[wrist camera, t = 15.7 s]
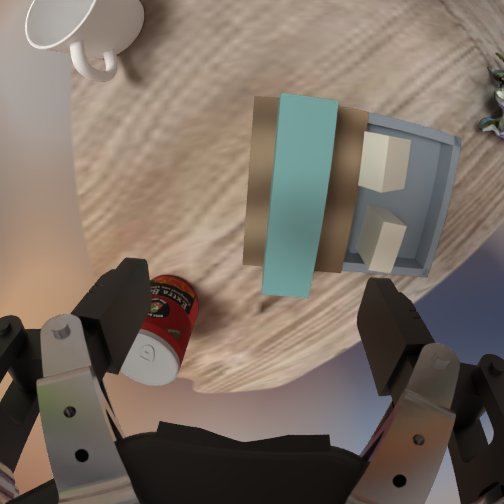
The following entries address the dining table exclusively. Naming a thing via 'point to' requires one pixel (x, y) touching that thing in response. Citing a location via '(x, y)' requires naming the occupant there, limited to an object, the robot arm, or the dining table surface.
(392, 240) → the tile
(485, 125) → the passion flower
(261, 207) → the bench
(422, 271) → the tray
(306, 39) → the dining table surface
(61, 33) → the cup
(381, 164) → the tile
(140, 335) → the canned food
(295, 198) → the teal rectangular block
